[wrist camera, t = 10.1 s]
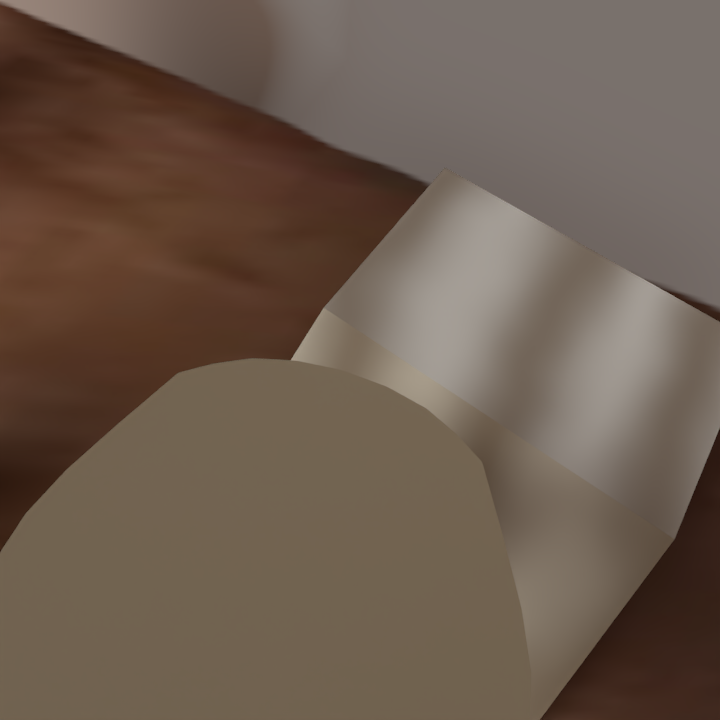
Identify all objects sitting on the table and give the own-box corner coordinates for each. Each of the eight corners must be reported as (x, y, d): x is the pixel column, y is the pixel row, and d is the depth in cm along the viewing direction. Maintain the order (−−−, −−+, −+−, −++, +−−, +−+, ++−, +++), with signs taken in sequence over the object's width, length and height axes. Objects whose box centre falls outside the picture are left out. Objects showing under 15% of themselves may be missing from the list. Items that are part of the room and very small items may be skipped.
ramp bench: (175, 560, 24) (111, 553, 17) (418, 259, 32) (444, 167, 25) (457, 796, 21) (524, 909, 14) (649, 399, 29) (754, 341, 22)
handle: (392, 538, 19) (564, 433, 5) (344, 737, 16) (432, 1584, 3) (272, 501, 19) (130, 309, 5) (206, 691, 17) (-377, 1237, 3)
